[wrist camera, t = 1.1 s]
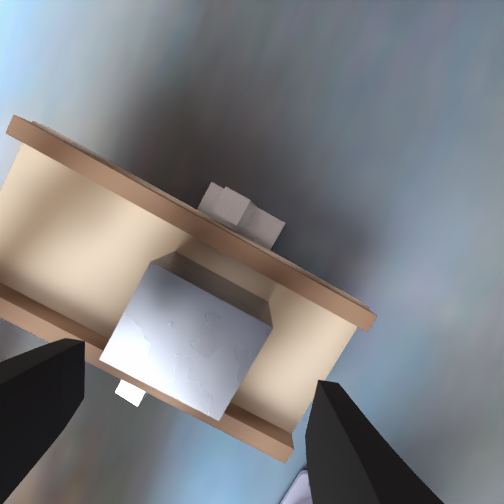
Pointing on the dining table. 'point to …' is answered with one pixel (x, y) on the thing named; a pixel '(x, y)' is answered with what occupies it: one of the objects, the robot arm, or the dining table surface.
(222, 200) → the pivot stand
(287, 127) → the dining table surface
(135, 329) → the rider
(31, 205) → the beam
